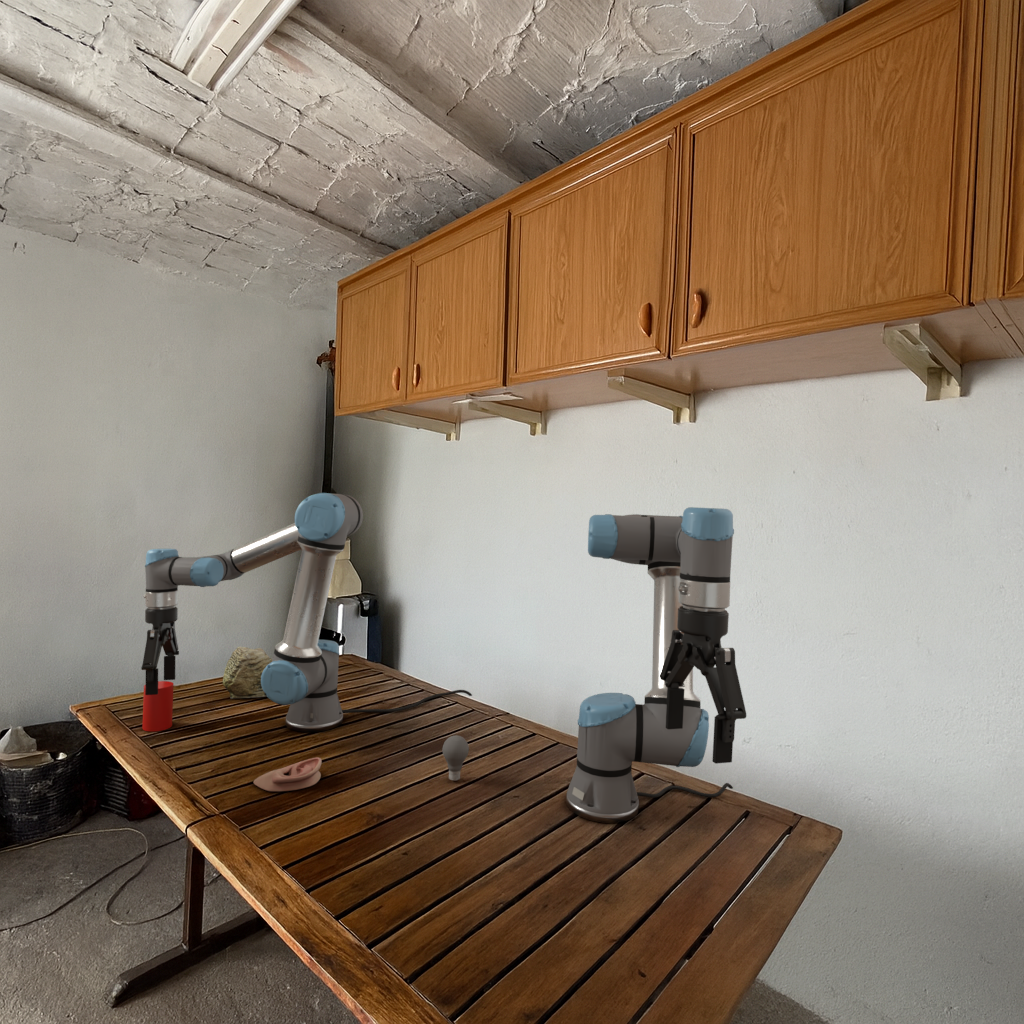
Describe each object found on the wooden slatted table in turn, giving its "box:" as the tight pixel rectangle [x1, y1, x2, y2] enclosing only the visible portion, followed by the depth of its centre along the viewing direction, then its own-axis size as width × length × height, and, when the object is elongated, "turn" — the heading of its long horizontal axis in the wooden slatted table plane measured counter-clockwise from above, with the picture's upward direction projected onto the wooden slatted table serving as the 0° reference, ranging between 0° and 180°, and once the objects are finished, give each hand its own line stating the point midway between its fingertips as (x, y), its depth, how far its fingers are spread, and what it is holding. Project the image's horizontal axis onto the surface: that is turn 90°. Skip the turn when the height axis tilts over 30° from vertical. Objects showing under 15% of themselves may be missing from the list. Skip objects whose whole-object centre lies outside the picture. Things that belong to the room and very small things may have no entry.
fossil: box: [222, 646, 273, 699], centre depth 198 cm, size 9×18×15 cm, turn 132°
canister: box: [141, 680, 174, 732], centre depth 168 cm, size 7×7×11 cm
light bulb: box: [442, 734, 470, 782], centre depth 144 cm, size 6×6×10 cm
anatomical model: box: [253, 757, 323, 792], centre depth 140 cm, size 13×4×12 cm
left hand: (161, 686), depth 168 cm, fingers open, 13 cm apart
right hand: (696, 744), depth 98 cm, fingers open, 13 cm apart
